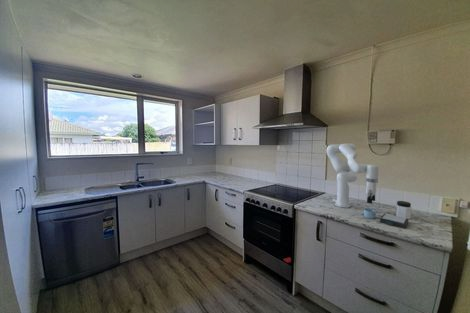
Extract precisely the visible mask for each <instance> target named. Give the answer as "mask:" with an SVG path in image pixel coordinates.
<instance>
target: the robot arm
mask: <svg viewBox="0 0 470 313" xmlns="http://www.w3.org/2000/svg"><path fill="white" fill-rule="evenodd" d="M356 150H357V146H356V145H355V144H354V143H349V142H348V143H347V142H346V143H345V142H344V143H341V144H339V143H338V144H334V143H333V144H329V145H328V146H327V147H326V155H327V157H328V159H329V161H330V163H331V165H332V167H333V169H334V171H335V172H337V174H336V185H337V187H336V188H337V189H336V190H337V191H336V199H334V198H332V202H333V203H334V206H336V207H339V208H345V209H347V208H351V204H349V202H350V201H349V200H350V186H349V183H354V182H356V181H357V180H358V176H357V174H365V182H366V186H365V187H366V189H365V195H367V197H366V203H367V204H371V205H372V204H373V202H375V201H376V194H377V184H378V183H379V166H378V165H377V164H369V163H358V162H356V160H355V159H357V157H358V153H357V152H356ZM338 154H342V155H343V156H344V157H345V158H346V159H347V161H342V159H341V157H340V156H339V155H338Z"/></svg>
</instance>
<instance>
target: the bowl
mask: <svg viewBox="0 0 470 313" xmlns="http://www.w3.org/2000/svg"><path fill="white" fill-rule="evenodd" d="M376 214H377V212H376V210H375V209H372V208H364V209H363V217H365V218H367V219H370V220H371V219H372V220H373V219H376Z"/></svg>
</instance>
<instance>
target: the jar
mask: <svg viewBox="0 0 470 313" xmlns="http://www.w3.org/2000/svg"><path fill="white" fill-rule="evenodd" d="M395 216H399V217H404V218H406V219H408V220H411V216H412V204H411V202H410V201H409V202H408V201H406V200H396V205H395Z"/></svg>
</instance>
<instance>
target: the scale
mask: <svg viewBox="0 0 470 313" xmlns="http://www.w3.org/2000/svg"><path fill="white" fill-rule="evenodd" d="M379 222H380V223H382V224H385V225H389V226H393V227H398V228H402V229H406V228H407V226H408V224H409V219H406V218H404V217H399V216H396V214H390V213H383V214H382V216H381V217H380V220H379Z"/></svg>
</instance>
